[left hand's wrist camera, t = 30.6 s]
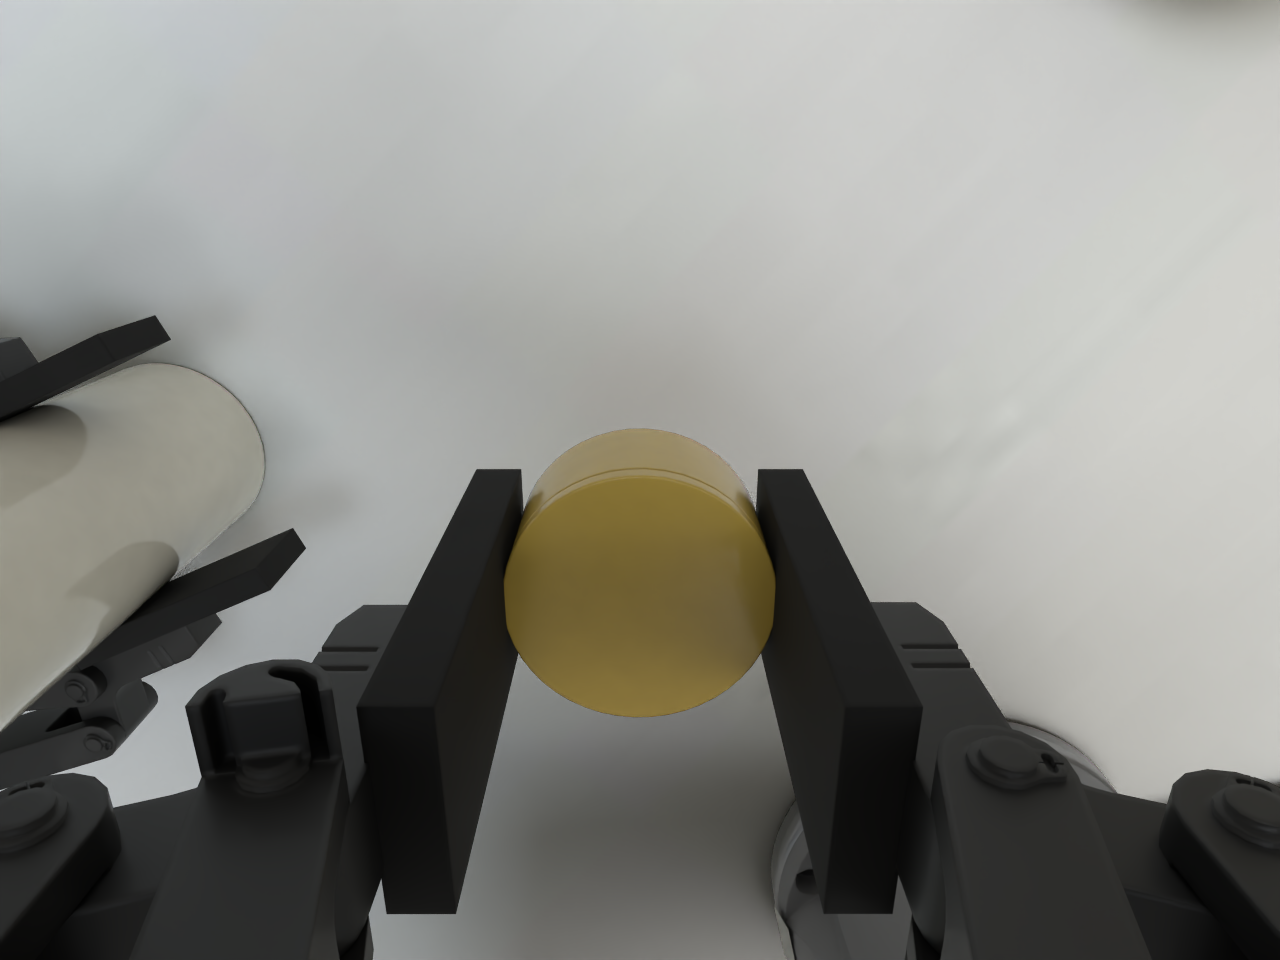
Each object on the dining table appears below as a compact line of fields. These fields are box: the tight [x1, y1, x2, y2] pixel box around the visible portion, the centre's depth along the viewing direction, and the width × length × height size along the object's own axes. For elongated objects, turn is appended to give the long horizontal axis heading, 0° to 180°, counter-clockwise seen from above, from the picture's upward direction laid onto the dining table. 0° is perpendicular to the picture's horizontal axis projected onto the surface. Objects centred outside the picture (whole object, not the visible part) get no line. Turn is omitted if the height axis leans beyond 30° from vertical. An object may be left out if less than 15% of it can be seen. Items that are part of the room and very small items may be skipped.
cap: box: [504, 429, 776, 717], centre depth 14 cm, size 4×4×2 cm
